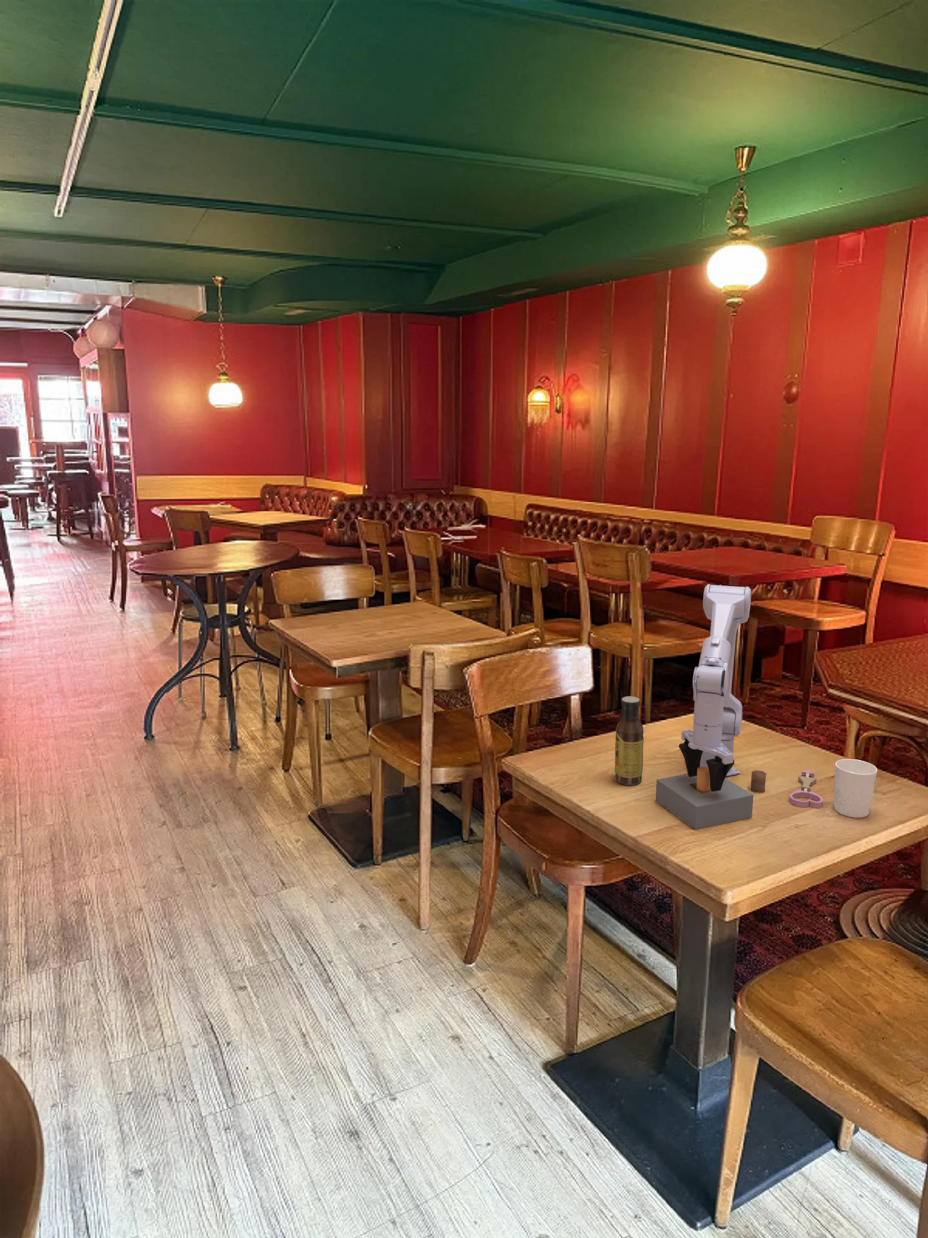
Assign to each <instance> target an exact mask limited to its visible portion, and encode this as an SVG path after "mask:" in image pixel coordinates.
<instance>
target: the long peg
mask: <svg viewBox="0 0 928 1238" xmlns="http://www.w3.org/2000/svg"><path fill="white" fill-rule="evenodd" d="M696 790H698V791H699V792H701V793H705V792H710V791H711V789H710V773H709V768H708V767H699V768H698V769H697V786H696Z"/></svg>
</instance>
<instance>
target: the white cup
mask: <svg viewBox="0 0 928 1238" xmlns="http://www.w3.org/2000/svg"><path fill="white" fill-rule="evenodd" d="M834 764H835V766H834V781H833V784H834V785H833V788H834V789H833V796H834V797H833V809H834V811H835V812H837V813H838V814H841V815H842V816H845V817H850V818H857V819H860V818H867V817H868V816H869V815H870V811H871V804H872V802H873V796H874V791H875V786H876V781H877V780H876V779H877V774H878V768H877V767H876V766H875V765H874V764H873V763H870V762H867V761H864V760H859V759H856V758H855V759H854V758H843V759H838V760H837V761H835V763H834Z"/></svg>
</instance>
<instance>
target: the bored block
mask: <svg viewBox="0 0 928 1238" xmlns="http://www.w3.org/2000/svg"><path fill="white" fill-rule="evenodd" d="M655 781H656V782H655V802H657V803H658V804H659V805H660V806H662V807H663V808H665V809H666V810H668V811H669V812H671V813H672V814H673V815H674V816H676V817H677V818H678V819H680V820H681V821H683V822H684V823H685V824H687V825H688V826H690V827H691V828H692V829H694V830H701V829H704V828H708V827H714V826H718V825H723V824H727V823H732V822H738V821H742V820H745V819H751V818H753V807H754V794H752V793H751V792H750V791H748V790H746V789H744V788H743V787H741V786H739V785H738V784H736V783H734V782H733V781H731V780H729V779H727V778H726V777H725V780H724V782H723V785H722V788H721V790H720V791H715V792H712V791H710V792H705V793H701V792H699V791H698V790H696V786H697V776H694V777H689V776H688V773H687V772H686V773H683V774H677V775H673V776H672V775H671V776H668V777H663V778H656V780H655Z"/></svg>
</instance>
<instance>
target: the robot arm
mask: <svg viewBox="0 0 928 1238" xmlns="http://www.w3.org/2000/svg"><path fill="white" fill-rule="evenodd" d="M702 599H703V600H702V607H703V611H704V614H705V616H706V619H708V620H710V621H711V623H710V632H709V633H710V635H709V637H707V638H706V639H704V640H703V643H702V647H701V652H700V656H699V657H700V658H699V663H698V666H695V667H694V670H693V676H692V688H693V701H694V709H693V725H692V726H693V727H692V730H691V729H685V730H682V731H681V737H680V738H681V741H683V742H682V743H681V742H680V743H679V744H678V748H679V750H680V751H681V753H682V757H683V759H684V763H685V767H686V768H685V769H686V774H687V773H688V776H689V777H694V776H697V769H698V768H699V767H708V768H709V773H710V789H711V791H712V792H715V791H720V790H721V788H722V785H723V782H724V780H725V778H726V777H729V776H734V775H735V776H736V775H739V774H741V771H740V770H738V768H737V769H736V768H735V767H733V766H734V765H735V760H734V746H735V745H734V744H735V743H734V742H735V737H739V736H740V735H741V731H742V724H743V705H742V702H741V701H740V700H739V699H738V698H737V697H736V696H734V695H733V694H732V683H733V673H734V663H735V661H734V660H735V651H736V640H737V639H736V638H737V631H738V629H739V626H740V625H741V624H743V623H746V622H748V619H749V618H750V610H751V605H752V604H751V602H752V589H751V588H750V587H749V586H733V585H732V586H729V585H717V584H716V585H715V584H709V583H708V584H707V585H706V586H705V587H704V590H703V598H702Z"/></svg>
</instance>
